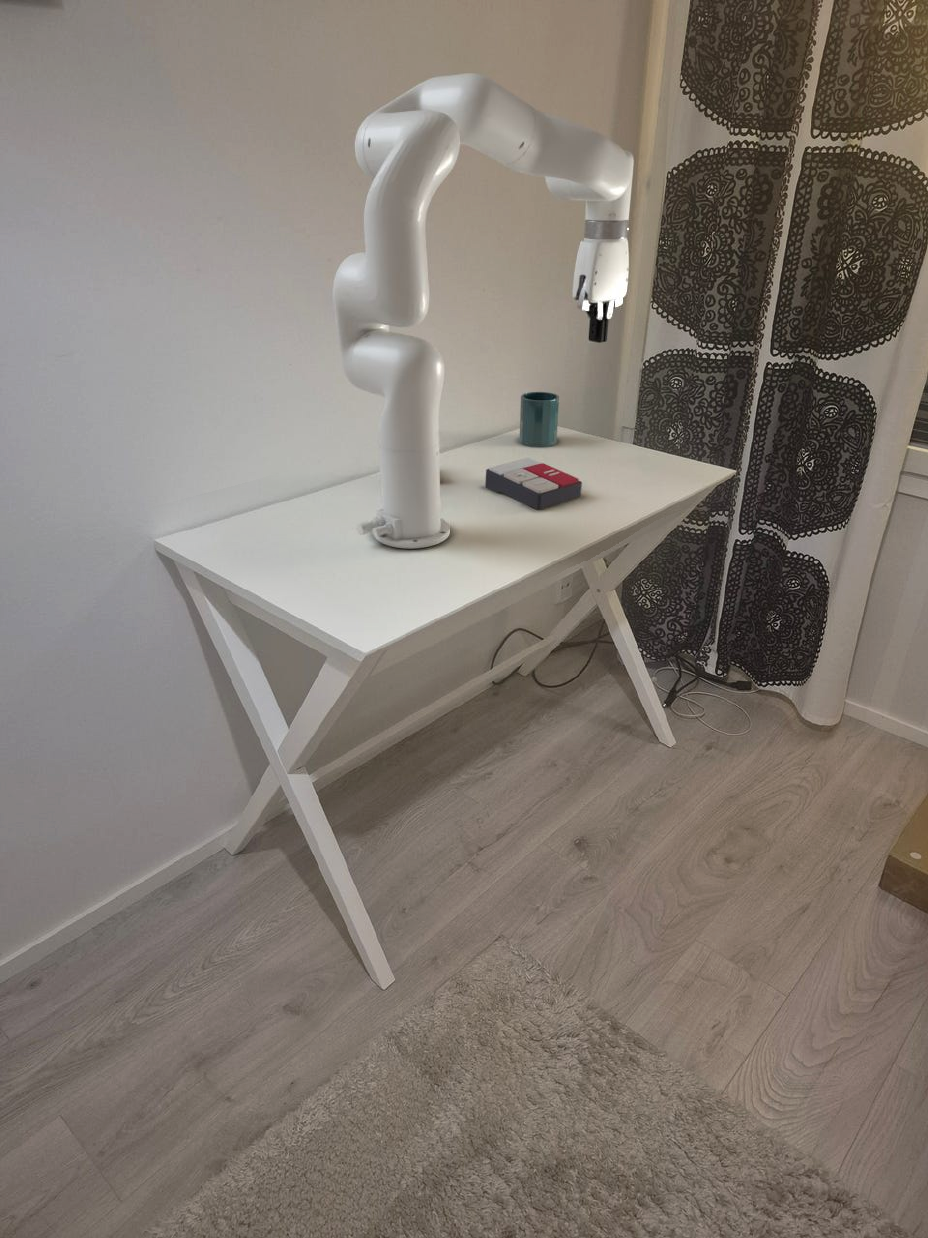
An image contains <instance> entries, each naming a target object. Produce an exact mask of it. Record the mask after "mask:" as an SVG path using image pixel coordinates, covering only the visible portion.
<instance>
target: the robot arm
mask: <svg viewBox="0 0 928 1238" xmlns="http://www.w3.org/2000/svg"><path fill="white" fill-rule="evenodd" d="M461 145H464V146H467V147H470V148H471V149H473V150H475V151H477V152H479V153H481V154H482V155H485V156H487V157H489V158H490V159H493V160H495V161H496V162H497V163H499V164H501V165H503V166H505V167H507V168H508V169H510V170H512V171H513V172H518V173H522V174H525V175H529V176H536V177H542V178H543V177H544V179H545V183H546V187H547V189H548V191H549V192H550V194H552V195H553V196H555V197H556V198H558V199H560V200H564V201H579V202H580V201H581V202H582V201H583V202H584V201H585V213H584V227H583V228H584V229H583V240H580V242H579V246H578V250H577V255H576V260H575V266H574V272H573V281H572V299H573V300H575V301H577V306H576V307H577V310H580V311H584V312H585V313H586V316H587V319H589V327H588V341H589V342H594V343H599V344H600V343H606V342H608V335H609V334H608V333H609V332H608V331H609V320H610V319H611V318H612V317H613V311H614V310H615V308H617V307H619V306H622V304H623V301H624V300H623V298H624V297H625V296H626V295H627V291H628V283H629V272H630V271H629V269H630V253H629V240H628V233H629V228H630V225H629V221H630V209H631V198H632V188H633V187H632V186H633V176H634V163H635V162H634V161H635V160H634V155H633V153H632V152H631V151H629V150H625V149H623V148H622V147H621V146H620V145H618V144H617V143H616V142H614V141H613V140H611V139H610V138H608V137H607V136H605V135H604V134H602V133H600V132H598V131H596V130H594V129H591V128H589V127H586V126H583V125H580V124H577V123H574V122H572V121H571V122H570V121H569V120H565V119H563V118H561V117H558V116H556V115H553V114H549V113H546V112H543V111H541V110H539V109H537V108H536V107H534V106H533V105H531V104H530V103H528V102H526V101H524V100H523V99H521V98H520V97H518V96H517V95H515V94H514V93H512V92H511V91H510V90H508V89H506V88H504V87H503V86H501V85H500V84H499V83H497V82H496V81H494V80H493V79H491V78H489V77H487V76H486V75H482V74H479V73H473V72H468V73H467V72H466V73H459V74H458V73H457V74H449V75H441V76H435V77H431V78H428V79H426V80H424V81H423V82H421V83H418V84H417V85H415V86H413V87H412V88H410V89H409V90H407V91H405V92H403V93H402V94H401V95H399V96H397V97H396V98H394V99H393V100H391V101H389V102H388V103H387V104H384V105H383V106H381V107H380V108H378V109H377V110H375V111H373V112H372V113H370V114H369V115H368V116H367V117H365V119H364V120H363V121H362V122H361V123H360V126H359V127H358V129H357V132H356V134H355V139H354V155H355V159H356V163H357V164H358V167H359V168H360V169H361V171H362V173H364V174H365V176H367V177H368V178H370V179H371V180H373V181H372V183H371V184H370V187H369V190H368V192H367V196H366V200H365V204H364V211H363V231H364V233H363V234H364V249H365V251H364V252H363V251H362V252H356V253H352V254H351V255H349V256H347V257H346V258H345V259H344V260H343V261H342V262H341V263H340V265H339V266H338V268H337V270H336V272H335V275H334V278H333V284H332V303H333V311H334V318H335V327H336V334H337V343H338V349H339V356H340V362H341V366H342V369H343V373H344V375H345V376H346V379H347V380H348V381H349V383H351V384H352V385H353V386H354V387H356V388H357V389H359V390H361V391H364V392H367V393H370V394H374V395H377V396H381V397H383V398H385V401H384V406H383V408H382V411H381V414H380V416H379V420H378V425H377V439H378V440H377V441H378V452H379V455H378V456H379V471H380V472H379V473H380V489H381V491H380V492H381V509H377V510H376V516H374V517H373V518H372V520H366V521H362V522H358V523H357V525H356V530H357V533H358V534H359V535H360V536H364V535H367V534H370V533H372V534H373V537H374V538H375V539H376V540H377V541H378V542H379V543H381V544H383V545H384V546H388V547H392V548H398V549H410V550H411V549H422V548H429V547H432V546H435V545H438V544H441V543H443V542H444V541H446V540H447V539H448V538H449V536H450V534H451V526H450V523H448V522H447V521H446V520H445V519H443V518H441V475H440V474H441V472H440V471H441V470H440V468H441V467H440V466H441V465H440V464H441V463H440V407H441V398H442V393H443V388H444V383H445V370H446V369H445V363H444V359H443V357H442V355H441V353H440V351H439V350H438V349H437V348H436V347H435V346H434V345H433V344H432V343H430V342H429V341H427V340H425V339H424V338H422V337H421V338H420V337H418V336H413V335H409V334H404V333H399V332H393V331H390V327H397V328H410V327H415V326H417V325H419V324H420V323H422V322H423V321H424V320H425V318H426V316H427V314H428V311H429V308H430V307H429V306H430V297H431V296H430V280H429V267H428V266H429V265H428V250H427V234H426V232H427V230H426V229H427V228H426V227H427V225H426V223H427V214H428V208H429V206H430V204H431V201H432V199H433V197H434V195H435V193H436V191H437V190H438V188H439V187H440V186H441V184H442V183H443V181H445V179H446V178H447V177H448V175H449V174H450V173H451V172H452V170H453V169H454V167H455V165H456V164H457V161H458V159H459V158H458V157H459V154H460V147H461Z"/></svg>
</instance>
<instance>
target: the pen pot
mask: <svg viewBox="0 0 928 1238" xmlns="http://www.w3.org/2000/svg"><path fill="white" fill-rule="evenodd" d="M559 403H560V395H558V394H557V393H553V392H548V391H530V392H525V393H522V394H521V396H520V412H519V414H520V415H519V416H520V417H519V443H520V444H522V445H524V446H528V447H532V448H533V447H534V448H547V447H550V446H554V445H556V444H557V441H558V439H557V438H558V421H559V407H560V406H559Z"/></svg>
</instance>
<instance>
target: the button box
mask: <svg viewBox="0 0 928 1238" xmlns="http://www.w3.org/2000/svg"><path fill="white" fill-rule="evenodd" d="M484 484H485V488H486V489H488V490H490V491H493V492H494V493H496V494H499V493H502V494H504V495H506V496H509V497H511V498H513V499H514V500H517V501H519V502H521V503H523V504H525V505H527V506H529V507H531V508H533V509H535V510H536V511H541V510H543V509H547V508H550V507H553V506H556V505H559V504H563V503H566V502H569V501H572V500H575V499H578V498H581V495H582V488H583V487H582V485H583V482H582V481H581V480H580V479H579V478H578V477H576V476H574V475H571V474H569V473H567V472H564V471H563V470H560V469H558V468H555V467H553V466H551V465H548V464H546V463H543V462H540V461H537V460H535V459H533V458H530V457H524V458H521V459H518V460H514V461H511V462H510V461H509V462H506V463H503V464H499V465H495V466H491V467H489V468H487V469H485V483H484Z"/></svg>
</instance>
